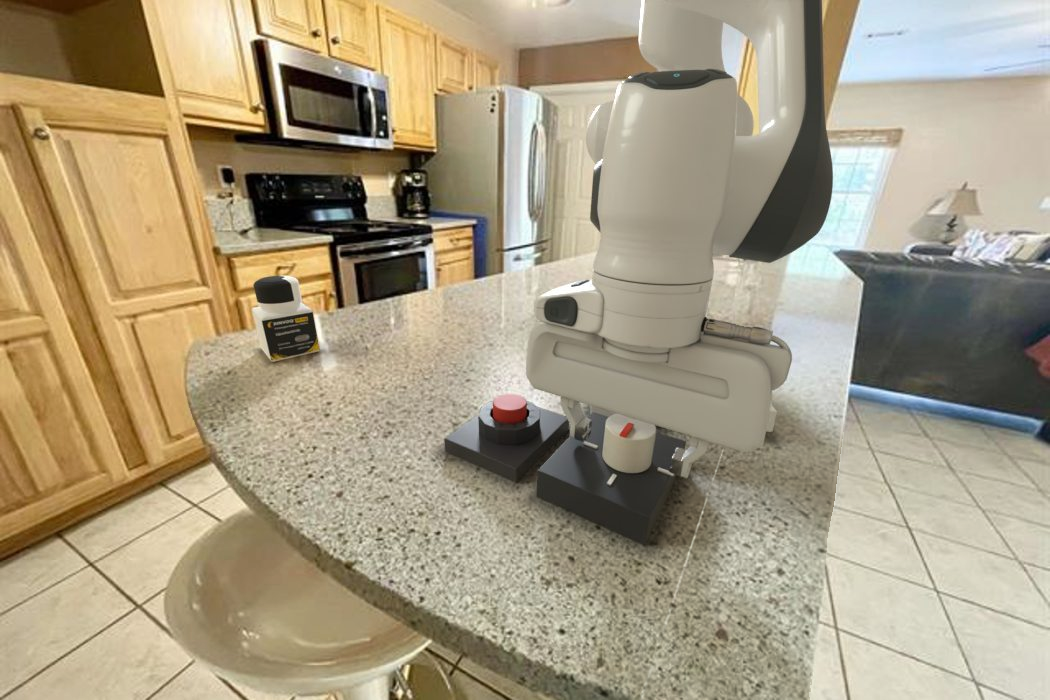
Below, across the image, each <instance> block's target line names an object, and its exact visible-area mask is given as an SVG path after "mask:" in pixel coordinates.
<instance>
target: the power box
mask: <svg viewBox="0 0 1050 700" xmlns="http://www.w3.org/2000/svg"><path fill="white" fill-rule="evenodd" d="M526 401H527V416H526V419H525V420H524V421H522V422H518V423H515V424H510V423H501V422H498V421H495V419H494V418H493V400H490V401H488V402H487V403H486V404H484V405H483V406H481V407H480V409H479V413H478V414H477V415H475V416H474V417H473V418H471V419H470V420H468V421H467V422H465V423H464V424H462V425H461V426H460V427H458V428H457V429H456V430H454V431H453V432H451V433H450V434H448V435H447V436H446V437H444V438H443V439H444V440H443V441H444V452H446V453H448V454H449V455H452V456H454V457H457V458H458V459H461V460H463V461H466V462H468V463H470V464H472V465H475V466H477V467H478V468H481V469H483V470H486V471H487V472H490V473H492V474H494V475H496V476H499V477H501V478H503V479H506V480H508V481H510V482H512V483H514V484H517V483H519V481H520V480H521V479H523V477H524V476H525V475H526V474H527V473H528V472H529V471H530V470H531V469H532V468H533V467H534V466H535V465H536V464H537V463H538V462H539V461H540V460H541V458H543V457H544V456H545V455H546V453H548V452H549V450H550V449H551V448H552V447H553V446H554V445H556V444H557V442H558V441H559V440H560V439H561V438H562V437H563V436H564V435H565V434H566V433H567V432H568V431H570V423H569V421H568V419H567V417H566V415H565V414H560V413H558V412H555V411H552V410H548V409H546V408H543V407H540V406H537V405H536V404H535V403H533V402H531V401H528V400H526Z"/></svg>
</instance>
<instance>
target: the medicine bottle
mask: <svg viewBox="0 0 1050 700" xmlns="http://www.w3.org/2000/svg"><path fill="white" fill-rule="evenodd" d="M252 286H253V290H254V294H255V298H256V302H257V306H254V307H252V309H251V312H252V317H253V320H254V321H253V322H254V324H255V325H254V326H255V328H256V333H257V337H258V341H259V345H260V348H261V350H262V351H263V353H264V354H265V355H266V357H267V358H268V359H269V360H270V362H272V363H274V362H280V361H284V360H287V359H293V358H296V357H301V356H305V355H306V356H307V355H310V354H314V353H318V352H320V350H321V349H320V343H319V338H318V332H317V327H316V321H315V315H314V312H313V311H314V310H313V309H311V308H310V307H309V306H307V305H306V304H304V302H303V297H302V293H301V288H300V281H299V279H297V277H294V276H291V275H282V274H281V275H270V276H264V277H261V278H258V279H257V280H256V281H254V283H253V285H252Z"/></svg>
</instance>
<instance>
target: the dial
mask: <svg viewBox="0 0 1050 700" xmlns="http://www.w3.org/2000/svg"><path fill="white" fill-rule="evenodd" d="M656 432H657V426H656V425H653V424H649V423H646V422H643V421H640V420H636V419H633V418H630V417H627V416H623V415H620V414H614V415H612V416H610V417H609V418H608V419H607V420H606V424H605V434H604V443H603V453H602V456H603V459H604V461H605V462H606V463H607V464H608V465H609V466H610V467H612V468H613V469H615V470H618V471H621V472H625V473H640V472H643V471H645V470H647V469H648V468H649V467H650V465H651V461H652V455H653V449H654V442H655V436H656Z"/></svg>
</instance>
